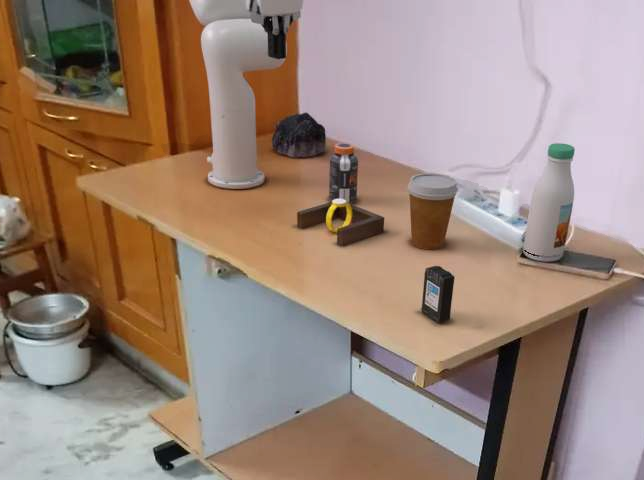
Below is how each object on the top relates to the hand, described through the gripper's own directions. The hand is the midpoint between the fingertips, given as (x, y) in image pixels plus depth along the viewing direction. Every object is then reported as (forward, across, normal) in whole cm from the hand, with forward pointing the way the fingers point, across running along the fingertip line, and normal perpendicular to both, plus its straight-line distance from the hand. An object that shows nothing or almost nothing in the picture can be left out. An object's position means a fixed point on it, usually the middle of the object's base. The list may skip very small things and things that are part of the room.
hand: (277, 57), depth 155 cm
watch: (+29, -3, +14) cm, 33 cm away
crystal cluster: (+29, -32, -30) cm, 53 cm away
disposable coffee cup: (+29, -12, +30) cm, 44 cm away
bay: (+29, -3, +14) cm, 32 cm away
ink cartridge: (+29, +11, +52) cm, 61 cm away
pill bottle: (+29, -16, +2) cm, 33 cm away
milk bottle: (+29, -25, +48) cm, 62 cm away
